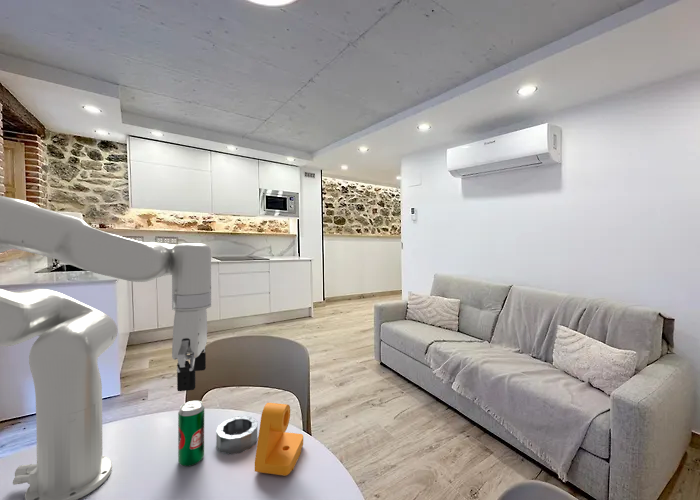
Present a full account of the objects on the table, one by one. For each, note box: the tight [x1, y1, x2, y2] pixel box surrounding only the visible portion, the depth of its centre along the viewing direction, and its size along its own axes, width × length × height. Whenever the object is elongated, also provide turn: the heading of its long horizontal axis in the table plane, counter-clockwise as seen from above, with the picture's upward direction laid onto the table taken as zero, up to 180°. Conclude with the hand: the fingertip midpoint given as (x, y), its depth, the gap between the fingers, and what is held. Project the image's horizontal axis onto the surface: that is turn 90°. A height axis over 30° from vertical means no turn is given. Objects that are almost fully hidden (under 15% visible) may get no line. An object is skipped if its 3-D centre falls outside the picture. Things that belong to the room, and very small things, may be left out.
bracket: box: [254, 402, 304, 477], centre depth 68 cm, size 11×7×12 cm, turn 171°
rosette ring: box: [215, 415, 258, 455], centre depth 74 cm, size 9×9×4 cm
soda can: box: [177, 400, 205, 467], centre depth 68 cm, size 5×5×12 cm
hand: (192, 379), depth 67 cm, fingers open, 9 cm apart
